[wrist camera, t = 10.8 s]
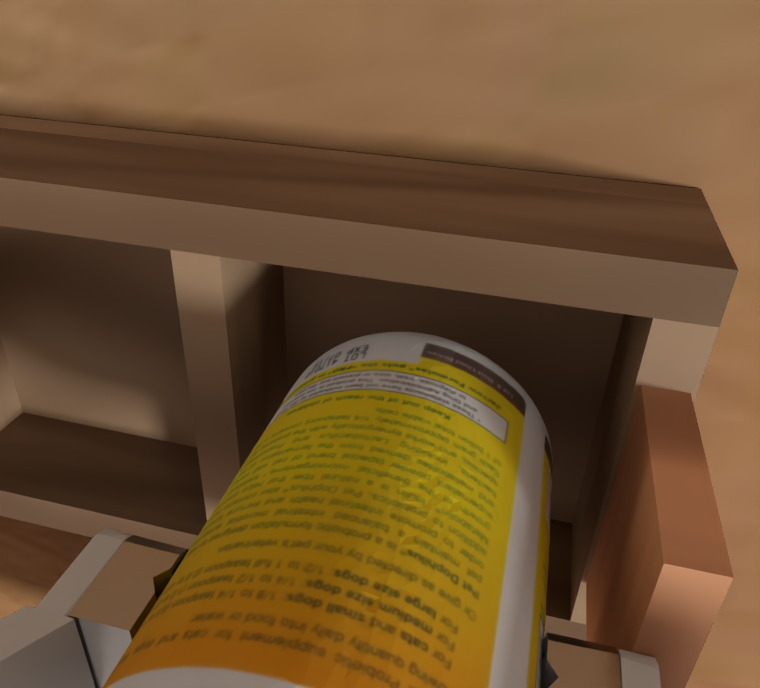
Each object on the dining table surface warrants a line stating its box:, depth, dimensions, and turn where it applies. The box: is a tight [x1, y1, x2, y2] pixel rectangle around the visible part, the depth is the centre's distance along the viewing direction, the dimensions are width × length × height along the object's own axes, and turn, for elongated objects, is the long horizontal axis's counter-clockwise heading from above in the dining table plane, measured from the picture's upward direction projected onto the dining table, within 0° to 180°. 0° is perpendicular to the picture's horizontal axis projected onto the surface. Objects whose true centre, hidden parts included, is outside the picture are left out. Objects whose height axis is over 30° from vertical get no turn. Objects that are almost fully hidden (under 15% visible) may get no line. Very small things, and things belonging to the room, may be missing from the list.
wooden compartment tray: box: [0, 115, 738, 688], centre depth 15 cm, size 10×18×8 cm, turn 88°
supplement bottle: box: [103, 332, 553, 688], centre depth 10 cm, size 6×6×10 cm
